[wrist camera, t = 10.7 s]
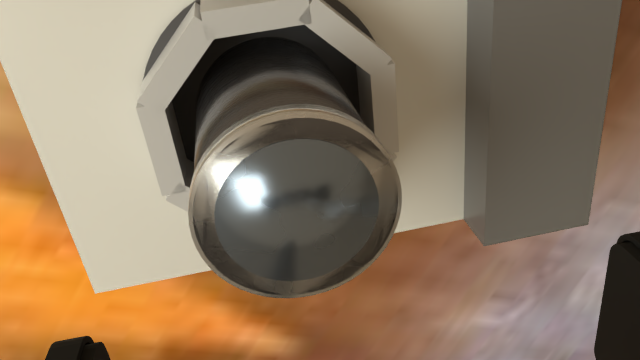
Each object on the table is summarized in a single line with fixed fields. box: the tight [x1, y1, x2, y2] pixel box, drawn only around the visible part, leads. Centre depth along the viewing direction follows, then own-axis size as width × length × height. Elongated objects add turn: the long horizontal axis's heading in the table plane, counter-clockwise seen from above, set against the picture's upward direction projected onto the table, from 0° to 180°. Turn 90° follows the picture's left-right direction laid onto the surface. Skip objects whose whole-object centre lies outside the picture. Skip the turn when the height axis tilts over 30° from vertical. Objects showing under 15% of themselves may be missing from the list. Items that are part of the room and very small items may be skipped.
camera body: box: [0, 0, 622, 293], centre depth 22 cm, size 20×13×8 cm, turn 97°
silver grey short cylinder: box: [188, 37, 402, 298], centre depth 17 cm, size 5×5×7 cm
